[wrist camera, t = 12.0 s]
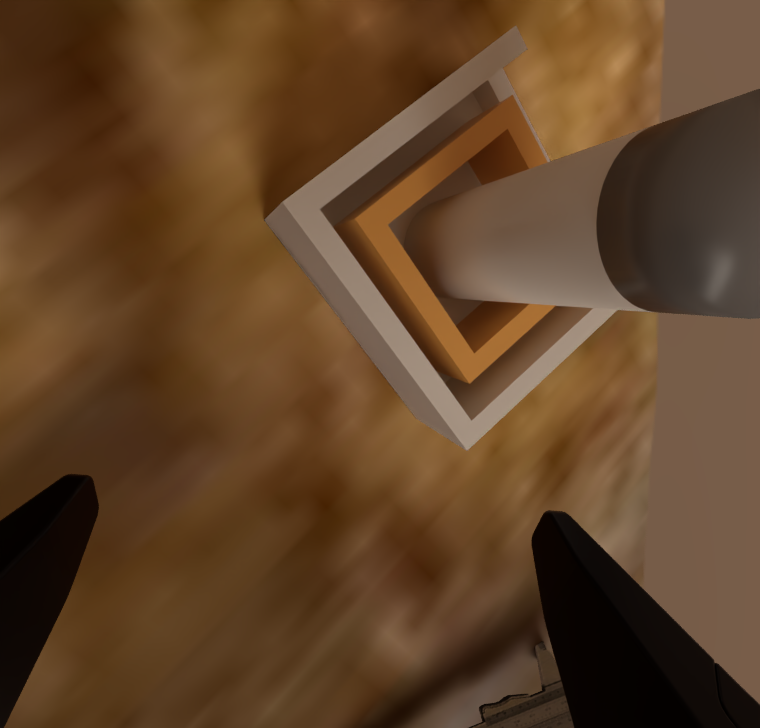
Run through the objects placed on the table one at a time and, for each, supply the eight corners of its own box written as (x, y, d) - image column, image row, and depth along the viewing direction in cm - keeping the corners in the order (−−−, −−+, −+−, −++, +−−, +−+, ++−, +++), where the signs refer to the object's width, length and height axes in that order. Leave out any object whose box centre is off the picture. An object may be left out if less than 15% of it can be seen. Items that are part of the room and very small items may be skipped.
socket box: (416, 418, 22) (466, 450, 18) (264, 219, 19) (282, 202, 14) (576, 274, 24) (656, 273, 20) (465, 67, 20) (532, 12, 16)
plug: (419, 311, 20) (701, 349, 9) (391, 215, 19) (668, 117, 8) (499, 280, 22) (845, 279, 10) (477, 188, 20) (834, 64, 9)
